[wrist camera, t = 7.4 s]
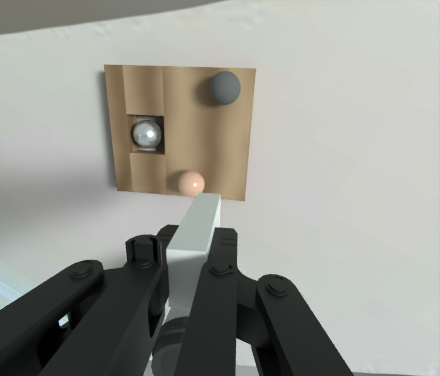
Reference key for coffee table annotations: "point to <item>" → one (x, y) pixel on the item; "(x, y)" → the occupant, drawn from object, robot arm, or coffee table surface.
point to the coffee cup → (169, 342)
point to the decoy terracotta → (191, 183)
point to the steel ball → (147, 134)
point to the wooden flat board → (180, 128)
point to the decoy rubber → (225, 87)
